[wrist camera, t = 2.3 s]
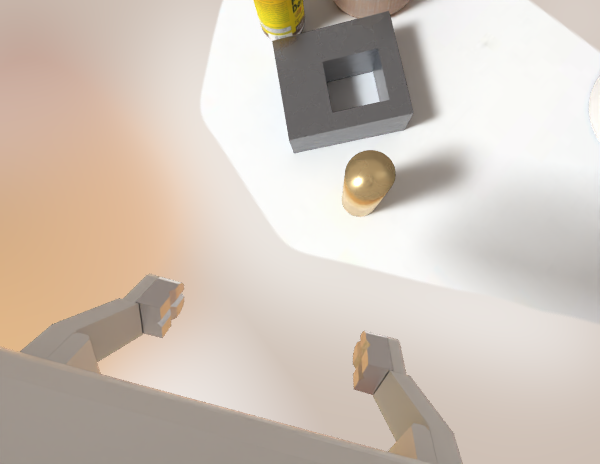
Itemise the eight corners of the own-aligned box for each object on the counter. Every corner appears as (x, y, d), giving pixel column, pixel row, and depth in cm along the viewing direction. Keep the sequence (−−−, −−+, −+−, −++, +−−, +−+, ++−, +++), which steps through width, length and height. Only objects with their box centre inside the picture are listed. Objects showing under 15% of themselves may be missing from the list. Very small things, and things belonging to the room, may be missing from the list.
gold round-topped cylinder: (373, 179, 31) (389, 145, 22) (380, 213, 30) (400, 192, 22) (339, 185, 31) (341, 155, 23) (345, 219, 31) (350, 202, 22)
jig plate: (383, 37, 33) (389, 10, 29) (404, 129, 31) (413, 113, 28) (278, 63, 34) (272, 40, 31) (293, 153, 32) (289, 140, 29)
